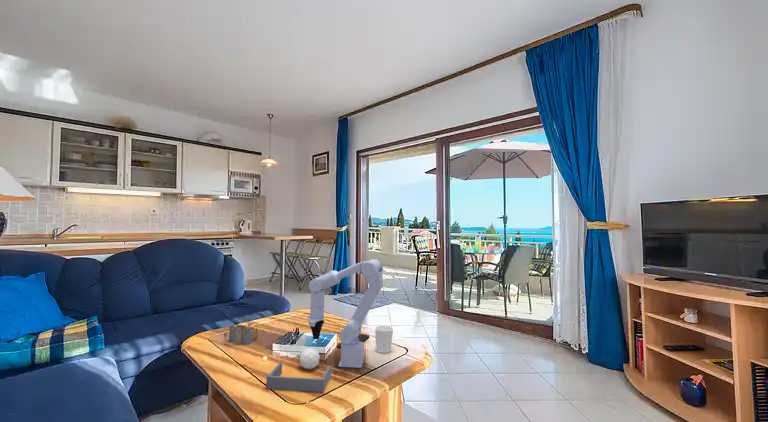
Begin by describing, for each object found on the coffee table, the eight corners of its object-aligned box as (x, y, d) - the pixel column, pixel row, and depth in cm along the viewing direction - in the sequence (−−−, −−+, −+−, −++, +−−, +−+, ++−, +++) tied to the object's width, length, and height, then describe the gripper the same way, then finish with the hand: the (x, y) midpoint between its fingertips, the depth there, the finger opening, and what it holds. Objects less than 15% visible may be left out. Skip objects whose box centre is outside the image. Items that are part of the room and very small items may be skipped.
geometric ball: (312, 376, 131) (314, 365, 127) (295, 367, 133) (296, 355, 128) (322, 360, 137) (324, 349, 133) (305, 351, 139) (307, 340, 134)
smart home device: (370, 335, 169) (351, 348, 151) (370, 338, 169) (351, 352, 151) (355, 332, 172) (335, 345, 154) (355, 336, 172) (335, 349, 154)
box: (331, 376, 126) (331, 365, 126) (323, 392, 114) (323, 380, 114) (279, 373, 127) (279, 362, 127) (266, 388, 115) (266, 376, 115)
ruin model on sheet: (252, 343, 158) (253, 322, 159) (248, 345, 155) (248, 324, 156) (233, 340, 162) (234, 319, 162) (228, 342, 159) (229, 321, 159)
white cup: (372, 352, 151) (372, 329, 151) (378, 346, 158) (379, 324, 158) (388, 355, 148) (388, 332, 148) (394, 348, 155) (395, 327, 155)
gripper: (312, 301, 150) (311, 332, 149) (302, 310, 135) (301, 344, 135) (328, 302, 149) (327, 333, 149) (320, 311, 135) (318, 345, 134)
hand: (316, 338), depth 142 cm, fingers closed
